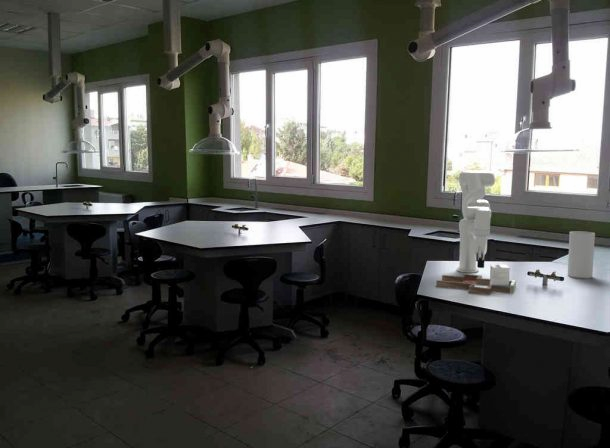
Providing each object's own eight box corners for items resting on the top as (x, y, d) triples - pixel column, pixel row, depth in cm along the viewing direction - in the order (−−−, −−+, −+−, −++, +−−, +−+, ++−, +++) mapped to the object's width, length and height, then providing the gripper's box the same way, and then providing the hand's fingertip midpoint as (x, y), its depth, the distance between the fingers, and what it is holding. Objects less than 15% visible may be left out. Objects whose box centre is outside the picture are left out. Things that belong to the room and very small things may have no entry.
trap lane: (445, 277, 295) (445, 270, 295) (516, 284, 279) (517, 276, 279) (433, 289, 268) (433, 281, 267) (511, 297, 251) (512, 288, 251)
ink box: (509, 290, 264) (510, 264, 263) (491, 290, 266) (492, 263, 265) (506, 286, 273) (507, 261, 271) (489, 286, 274) (490, 260, 273)
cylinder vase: (591, 275, 300) (593, 231, 298) (593, 279, 289) (595, 234, 286) (567, 273, 306) (569, 230, 303) (567, 277, 294) (570, 233, 292)
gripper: (476, 230, 278) (475, 264, 280) (472, 234, 265) (470, 269, 267) (491, 230, 275) (490, 265, 277) (487, 235, 261) (486, 271, 264)
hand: (480, 267), depth 272 cm, fingers closed
